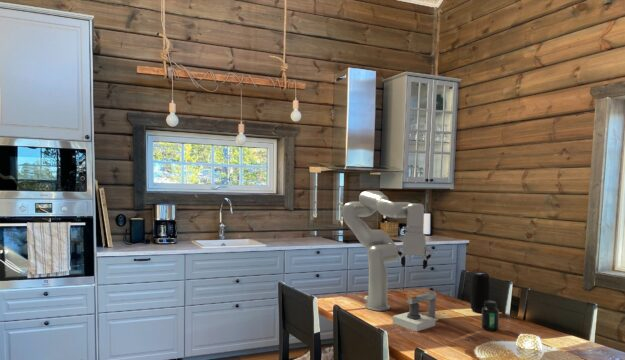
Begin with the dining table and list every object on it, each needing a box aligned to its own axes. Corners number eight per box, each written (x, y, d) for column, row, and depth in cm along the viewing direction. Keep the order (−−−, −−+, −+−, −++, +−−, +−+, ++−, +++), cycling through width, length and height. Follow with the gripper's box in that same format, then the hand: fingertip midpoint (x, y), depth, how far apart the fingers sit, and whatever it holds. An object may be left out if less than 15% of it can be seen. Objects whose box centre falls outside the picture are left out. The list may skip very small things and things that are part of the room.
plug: (404, 323, 182) (405, 303, 182) (412, 321, 185) (413, 301, 185) (414, 327, 177) (415, 306, 177) (422, 324, 181) (423, 304, 181)
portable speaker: (467, 311, 207) (467, 272, 207) (475, 307, 213) (475, 269, 214) (484, 315, 201) (485, 274, 201) (491, 311, 207) (492, 272, 208)
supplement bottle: (495, 332, 176) (495, 304, 176) (479, 328, 181) (479, 301, 181) (500, 329, 181) (501, 301, 181) (485, 325, 186) (485, 298, 186)
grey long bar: (405, 302, 181) (405, 295, 181) (431, 296, 192) (431, 289, 192) (412, 304, 178) (412, 297, 178) (437, 298, 189) (438, 291, 189)
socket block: (392, 325, 182) (393, 302, 183) (422, 316, 196) (423, 295, 196) (416, 333, 172) (416, 309, 172) (446, 324, 185) (447, 301, 186)
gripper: (394, 229, 191) (393, 266, 191) (432, 232, 183) (431, 271, 183) (398, 228, 198) (397, 263, 198) (435, 231, 190) (434, 268, 189)
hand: (413, 267), depth 190 cm, fingers open, 9 cm apart
